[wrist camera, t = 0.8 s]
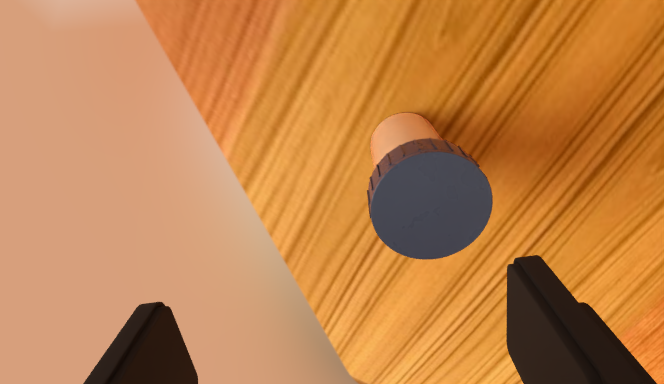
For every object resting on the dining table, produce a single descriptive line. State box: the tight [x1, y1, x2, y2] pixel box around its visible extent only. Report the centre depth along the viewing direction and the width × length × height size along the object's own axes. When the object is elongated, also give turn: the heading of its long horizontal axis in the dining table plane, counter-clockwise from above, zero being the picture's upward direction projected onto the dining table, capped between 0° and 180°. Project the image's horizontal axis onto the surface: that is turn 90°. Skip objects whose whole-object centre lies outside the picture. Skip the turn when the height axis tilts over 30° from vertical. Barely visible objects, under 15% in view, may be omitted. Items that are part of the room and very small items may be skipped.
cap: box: [367, 138, 493, 259], centre depth 24 cm, size 7×7×2 cm
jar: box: [370, 113, 443, 169], centre depth 29 cm, size 6×6×11 cm
